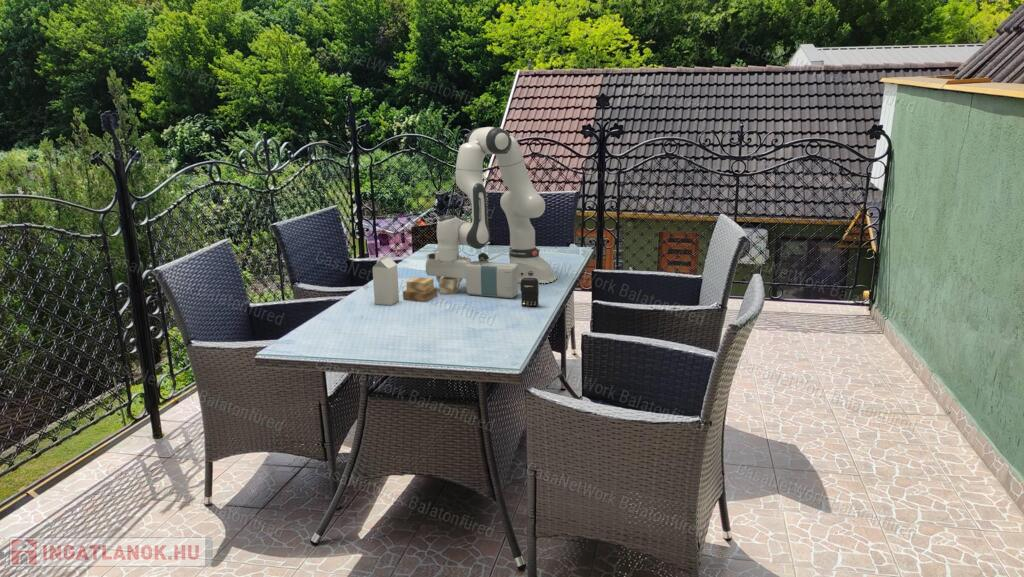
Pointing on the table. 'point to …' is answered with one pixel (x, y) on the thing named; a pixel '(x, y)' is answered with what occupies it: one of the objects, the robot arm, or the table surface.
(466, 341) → the table surface
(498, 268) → the stereo radio cassette player
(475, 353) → the table surface
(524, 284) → the battery
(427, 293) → the walnut slab
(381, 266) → the milk carton
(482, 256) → the artificial flower
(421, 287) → the oak slab
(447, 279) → the maple cube
